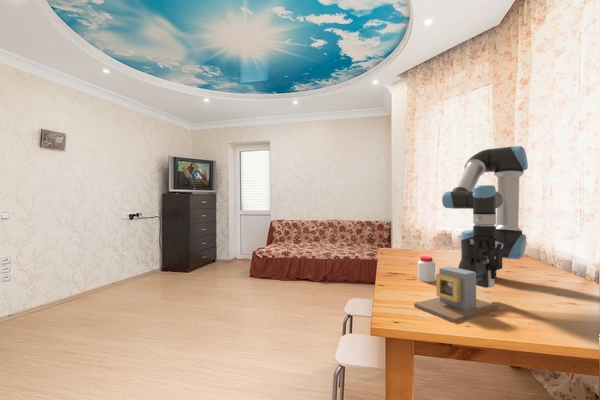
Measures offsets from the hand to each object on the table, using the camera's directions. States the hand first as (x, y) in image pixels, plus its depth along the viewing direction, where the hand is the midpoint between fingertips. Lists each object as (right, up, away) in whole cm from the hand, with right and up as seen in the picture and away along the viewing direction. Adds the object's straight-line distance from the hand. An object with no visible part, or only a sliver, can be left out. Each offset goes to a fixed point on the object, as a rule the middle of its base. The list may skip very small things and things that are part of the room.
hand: (484, 285), depth 114 cm
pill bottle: (-10, -6, +28) cm, 31 cm away
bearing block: (-15, -6, -8) cm, 17 cm away
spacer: (-19, -2, -10) cm, 21 cm away
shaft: (-8, 0, -4) cm, 9 cm away
